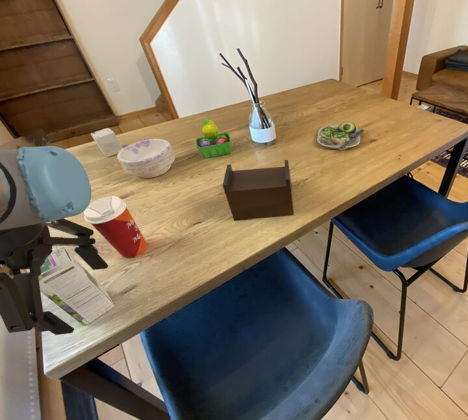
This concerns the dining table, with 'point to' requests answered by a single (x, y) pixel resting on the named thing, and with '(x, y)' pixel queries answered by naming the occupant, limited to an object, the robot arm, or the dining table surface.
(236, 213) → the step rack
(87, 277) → the syrup box
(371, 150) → the dining table surface
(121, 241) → the paper cup
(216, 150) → the fruit basket
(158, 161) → the paper bowls
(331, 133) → the salad plate
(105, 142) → the product carton
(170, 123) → the dining table surface
